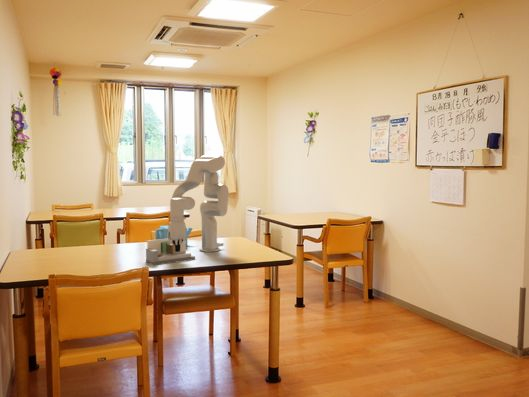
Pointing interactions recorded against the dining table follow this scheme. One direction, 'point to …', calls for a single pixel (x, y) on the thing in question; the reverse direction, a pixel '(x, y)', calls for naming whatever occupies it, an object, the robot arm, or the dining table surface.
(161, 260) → the gauge base
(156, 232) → the container
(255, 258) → the dining table surface
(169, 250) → the gauge slider
